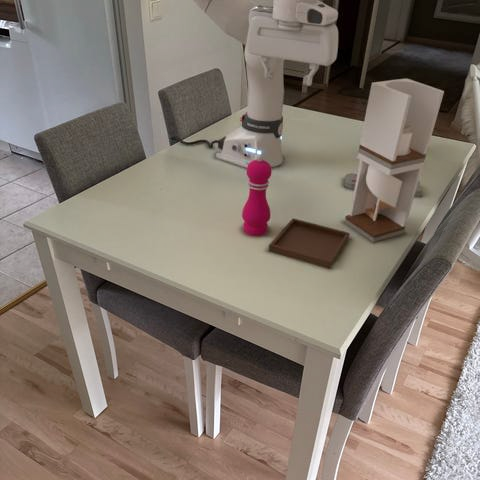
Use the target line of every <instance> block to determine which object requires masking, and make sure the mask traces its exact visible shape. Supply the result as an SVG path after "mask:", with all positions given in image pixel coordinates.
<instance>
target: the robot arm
mask: <svg viewBox="0 0 480 480" xmlns="http://www.w3.org/2000/svg"><path fill="white" fill-rule="evenodd" d="M193 1H194V3H195V4H196V5H197V6H198V7H199V9H201V11H202V12H203V13H204V14H206V16H208V17H209V19H211V20H212V21H213V22H214V24H216V26H217V27H219V28H220V29H221V30H222V31H223V32H224V33H225V34H226V35H228V36H229V37H232V38H234V39H235V40H237V41H238V42H240V43H241V44H242V45H244V46H245V47H244V60H245V66H246V67H245V69H246V78H247V108H246V109H247V111H246V112H245V113H244V114H243V115H241V117H240V118H239V122H240V123H241V125H239V126H238V127H236V128H235V129H233V130H232V131H231V132H229V133H228V134H227V135H226V136H223V137H221V138H220V139H219V140H218V139H215V140H212V141H211V143H210V141H208V140H207V139H198V140H195V141H184V140H183V139H182V138H180V137H179V136H178V135H173V136H171V137H170V140H174V139H176V140H177V141H178V142H180V143H181V144H183V145H186V146H187V145H188V146H190V145H196V144H200V143H205V144H207V147H208V148H211V149H212V148H213V147H214V144H217V148H218V150H217V151H216V154H215V158H216V159H219V160H222V161H224V162H228V163H231V164H234V165H237V166H240V167H243V168H245V169H247V166H248V165H249V163H250V162H252V161H254V160H256V156H257V155H258V154H262V155H263V157H264V159H263V160H265V161H266V162H268V163H269V164H270V166H271V168H274V167H277V166H279V165H281V164H282V163H283V162H284V158H283V152H282V139H283V137H282V136H283V135H282V134H283V129H284V116H283V109H284V99H285V97H284V96H285V85H284V65H285V60H286V61H292V62H299V63H306V64H309V68H308V69H309V70H310V71H309V73H308V74H305V75H304V76H303V80H302V85H303V86H307V87H310V86H312V84H313V77H314V76H315V74H316V73H317V72H318V70H319V68H320V66H324V67H329V66H331V65H332V64H333V63H334V62H336V60H337V58H338V49H339V29H338V26H337V25H336V24H335V22H336V21H337V20H338V17H339V12H338V10H337V9H335V8H334V7H332V6H329V5H327V4H325V3H324V2H323V1H321V0H273V1H272V2H273V3H272V6H269V5H267V6H265V5H261V4H260V5H259V4H258V3H257V2H255V0H193Z"/></svg>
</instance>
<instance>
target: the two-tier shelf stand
mask: <svg viewBox="0 0 480 480" xmlns="http://www.w3.org/2000/svg"><path fill="white" fill-rule="evenodd" d="M444 93H445V91H444V90H443V89H440V88H436V87H434V86H431V85H427V84H425V83H421V82H419V81H415V80H413V79H410V78H399V79H390V80H383V81H375V82H371V86H370V90H369V96H368V100H367V105H366V111H365V116H364V121H363V125H362V126H363V127H362V131H361V136H360V142H359V147H358V151H357V157H356V159H358V160H359V164H358V169H357V173H356V174H357V179H356V184H355V189H353V194H352V199H351V204H350V209H349V214H346V215H345V217H344V224H346V225H347V226H349V228H352V229H353V230H355V231H356V232H357V233H359V234H360V235H362V236H363V237H364V238H366V239H368V240H369V241H370V242H372V243H375V242H379V241H383V240H385V239H388V238H392V237H397V236H399V235H402V234H404V233H405V230H406V226H407V222H408V219H409V217H410V214H411V213H410V212H411V208H412V206H413V201H414V199H415V196H414V195H415V192H416V188H417V185H418V181H419V182H420V177H421V174H422V171H423V167H424V163H425V160H426V156H427V153H428V150H429V145H430V142H431V140H432V135H433V132H434V128H435V125H436V121H437V119H438V114H439V111H440V107H441V104H442V101H443V97H444Z"/></svg>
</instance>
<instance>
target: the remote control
mask: <svg viewBox="0 0 480 480" xmlns="http://www.w3.org/2000/svg"><path fill="white" fill-rule="evenodd" d="M357 174H358V173H353V172H352V173H346V175H345V176H344V186H345V188H348V189H349V190H354V189H355V184H356V179H357ZM421 196H422V185H421V183H420V180H419V181H418V185H417V188H416V192H415V195H414V197H419V198H421Z"/></svg>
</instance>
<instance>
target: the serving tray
mask: <svg viewBox="0 0 480 480" xmlns="http://www.w3.org/2000/svg"><path fill="white" fill-rule="evenodd" d="M349 240H350V232H347V231H344V230H340V229H335V228H332V227H329V226H325V225H321V224H316V223H313V222H310V221H306V220H302V219H297V218H294V217H292V219H291V220H290V221H289V222H288V223H287V224H285V226H284V228H283V229H282V230H281V231H280V232H279V233H278V234H277V235H276V237H274V239H273V240H272V241H271V242H270V243H269V244H268V252H270V253H272V254H273V253H274V254H276V255H280V256H284V257H287V258H291V259H295V260H298V261H301V262H304V263H308V264H312V265H315V266H319V267H322V268H326V269H331V268H332V266H333V264H334V263H335V261H336V260H337V259H338V257H339V255H340V253H341V252H342V250H343V249H344V247H345V245H346V244H347V243H348V241H349Z"/></svg>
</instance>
